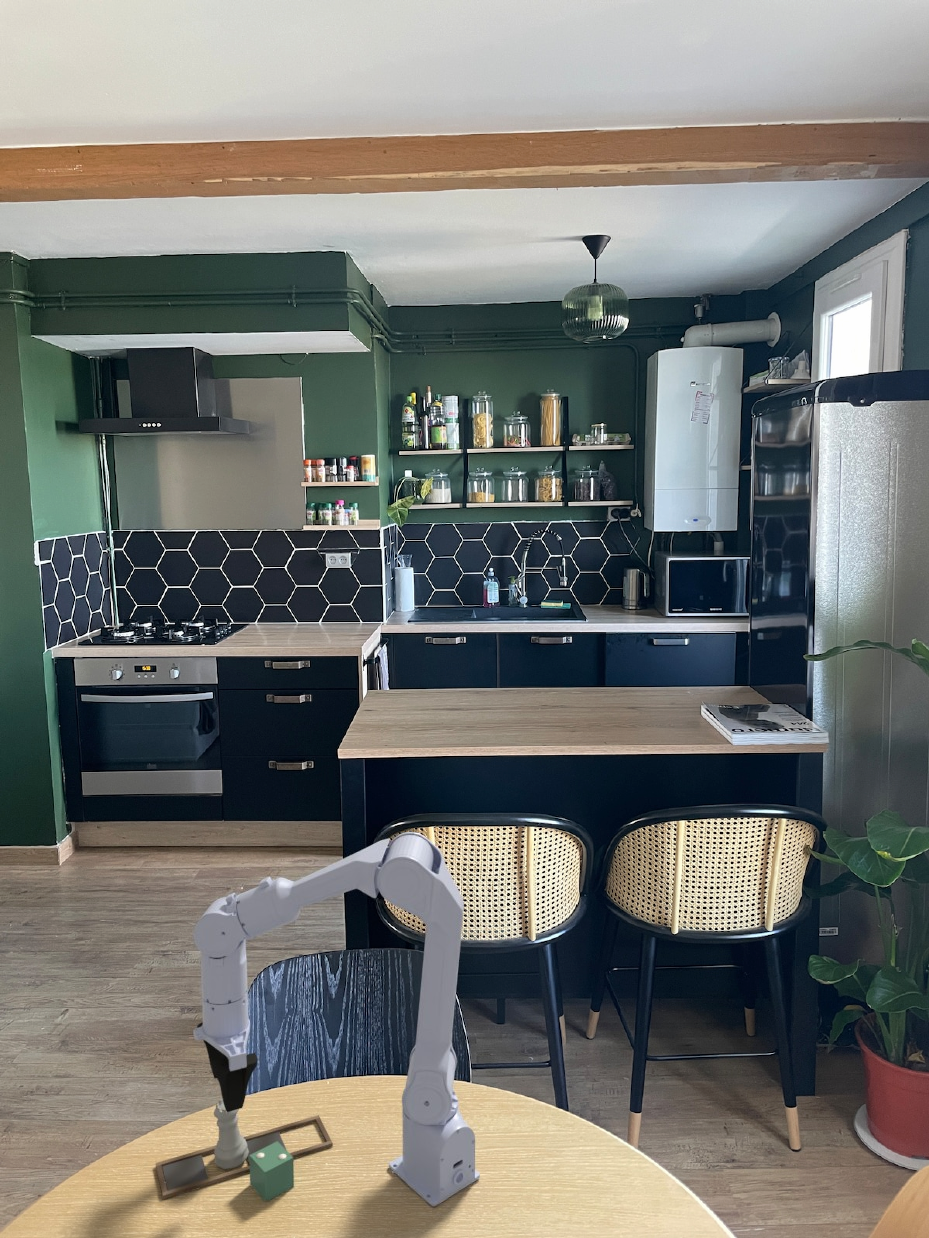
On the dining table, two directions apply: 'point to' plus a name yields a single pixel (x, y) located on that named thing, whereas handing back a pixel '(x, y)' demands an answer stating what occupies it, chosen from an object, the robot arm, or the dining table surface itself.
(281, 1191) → the green die
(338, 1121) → the dining table surface
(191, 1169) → the track board
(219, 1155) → the rook chess piece
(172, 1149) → the dining table surface
